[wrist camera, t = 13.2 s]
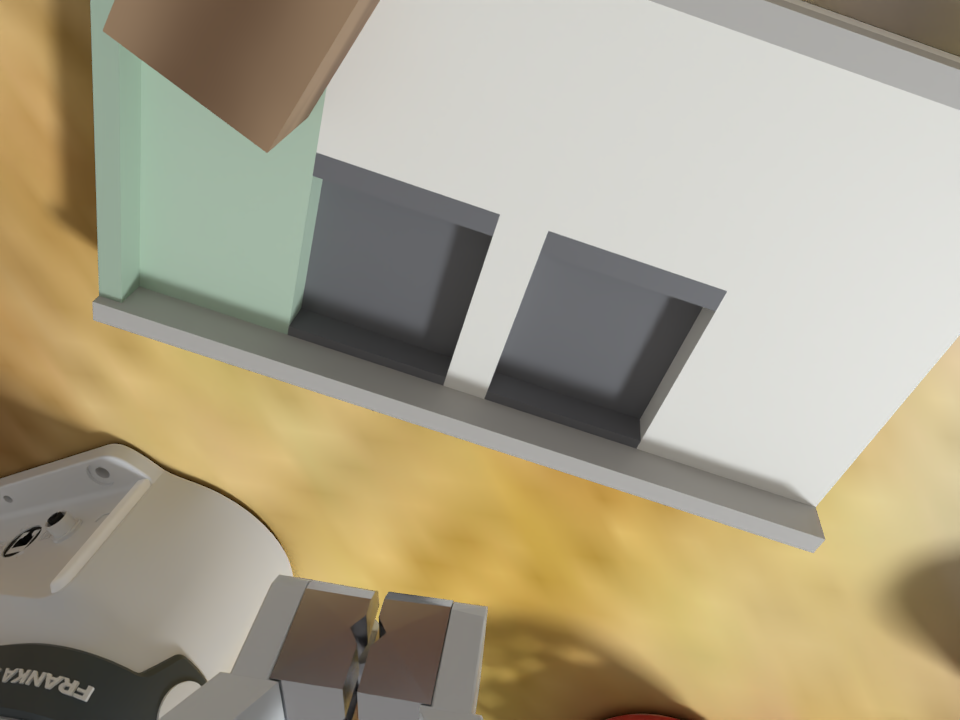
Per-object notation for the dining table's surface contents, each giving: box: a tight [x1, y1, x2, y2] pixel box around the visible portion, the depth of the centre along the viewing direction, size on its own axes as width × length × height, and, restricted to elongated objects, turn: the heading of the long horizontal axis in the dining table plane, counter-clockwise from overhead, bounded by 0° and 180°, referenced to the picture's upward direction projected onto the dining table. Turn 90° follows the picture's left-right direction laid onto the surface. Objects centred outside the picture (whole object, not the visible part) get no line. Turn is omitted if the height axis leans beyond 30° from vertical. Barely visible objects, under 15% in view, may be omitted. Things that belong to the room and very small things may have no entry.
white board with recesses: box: [93, 0, 960, 553], centre depth 29 cm, size 34×20×4 cm, turn 74°
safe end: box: [90, 0, 327, 334], centre depth 29 cm, size 8×20×4 cm, turn 164°
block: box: [103, 0, 380, 153], centre depth 24 cm, size 6×6×4 cm
